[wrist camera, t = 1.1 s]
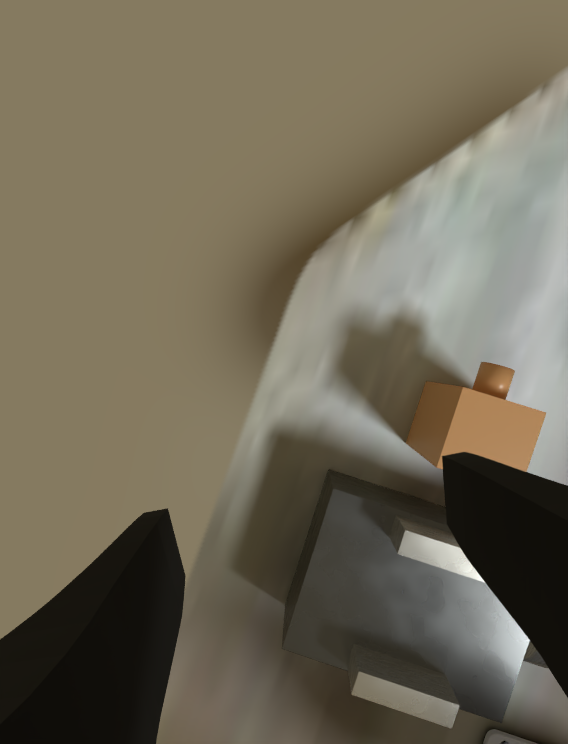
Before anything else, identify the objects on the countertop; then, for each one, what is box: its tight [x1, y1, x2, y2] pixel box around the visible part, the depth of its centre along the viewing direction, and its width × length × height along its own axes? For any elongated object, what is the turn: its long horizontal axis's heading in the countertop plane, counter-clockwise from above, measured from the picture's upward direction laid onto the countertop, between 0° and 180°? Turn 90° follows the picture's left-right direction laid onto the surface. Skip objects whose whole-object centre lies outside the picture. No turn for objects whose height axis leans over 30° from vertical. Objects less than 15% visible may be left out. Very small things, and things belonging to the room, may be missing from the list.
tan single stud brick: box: [406, 362, 546, 472], centre depth 23 cm, size 4×6×6 cm
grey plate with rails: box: [282, 470, 548, 729], centre depth 23 cm, size 14×9×6 cm, turn 73°
